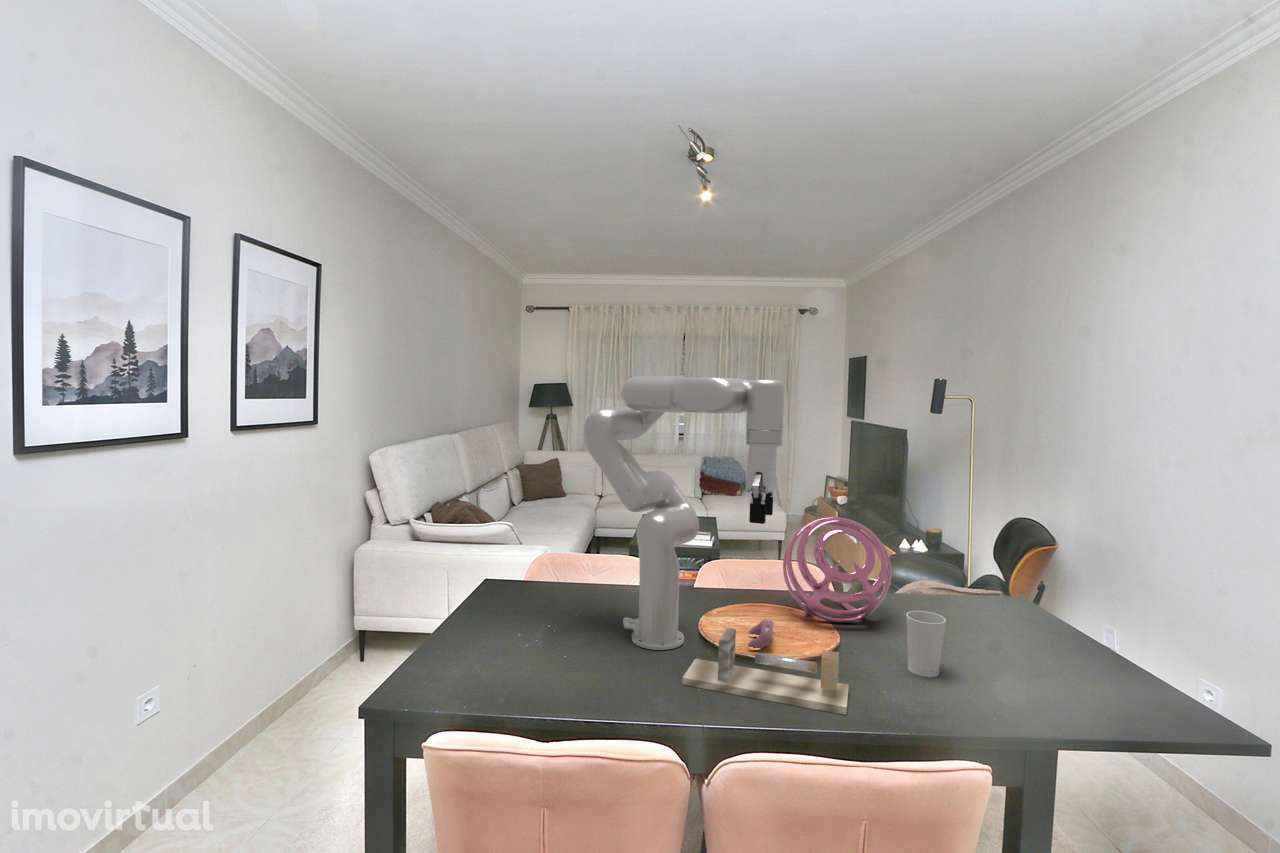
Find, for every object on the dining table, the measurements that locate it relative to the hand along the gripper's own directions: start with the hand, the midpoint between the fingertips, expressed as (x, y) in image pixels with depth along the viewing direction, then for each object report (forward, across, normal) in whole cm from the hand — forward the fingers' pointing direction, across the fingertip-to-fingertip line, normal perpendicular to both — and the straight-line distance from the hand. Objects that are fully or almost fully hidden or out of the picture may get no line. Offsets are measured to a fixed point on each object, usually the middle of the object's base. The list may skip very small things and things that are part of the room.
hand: (761, 518), depth 136 cm
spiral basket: (+34, -42, +14) cm, 55 cm away
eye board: (+33, +7, +3) cm, 34 cm away
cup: (+34, -15, +34) cm, 50 cm away
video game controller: (+34, -15, -2) cm, 37 cm away
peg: (+30, +7, +9) cm, 32 cm away
